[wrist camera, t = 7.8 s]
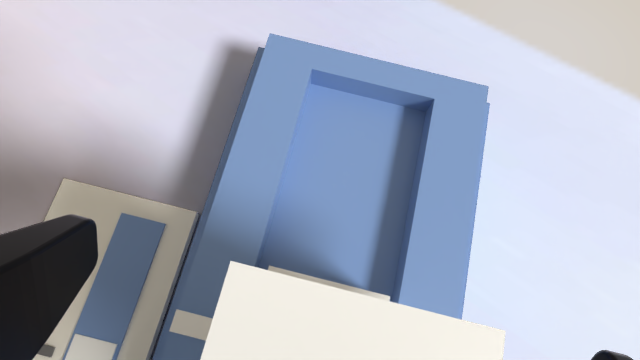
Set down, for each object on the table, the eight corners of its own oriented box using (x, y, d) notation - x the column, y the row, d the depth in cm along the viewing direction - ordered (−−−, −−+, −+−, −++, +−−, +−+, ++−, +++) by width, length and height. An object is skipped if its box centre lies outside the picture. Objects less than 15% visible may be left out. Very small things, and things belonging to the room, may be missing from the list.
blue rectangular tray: (411, 557, 12) (440, 620, 10) (124, 481, 13) (83, 523, 10) (473, 120, 17) (503, 88, 14) (262, 68, 17) (255, 28, 15)
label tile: (127, 423, 13) (120, 428, 13) (-23, 383, 13) (-36, 386, 13) (199, 214, 15) (195, 210, 15) (69, 181, 15) (61, 176, 15)
